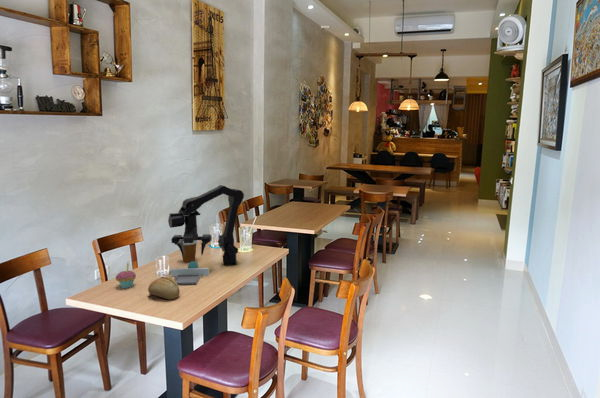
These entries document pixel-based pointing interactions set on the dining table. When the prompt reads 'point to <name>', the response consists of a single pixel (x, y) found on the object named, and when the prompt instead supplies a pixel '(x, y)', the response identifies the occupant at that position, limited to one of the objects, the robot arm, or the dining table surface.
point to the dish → (187, 279)
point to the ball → (193, 264)
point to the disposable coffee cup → (189, 252)
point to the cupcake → (126, 278)
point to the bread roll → (164, 288)
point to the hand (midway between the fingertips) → (192, 255)
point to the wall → (190, 271)
